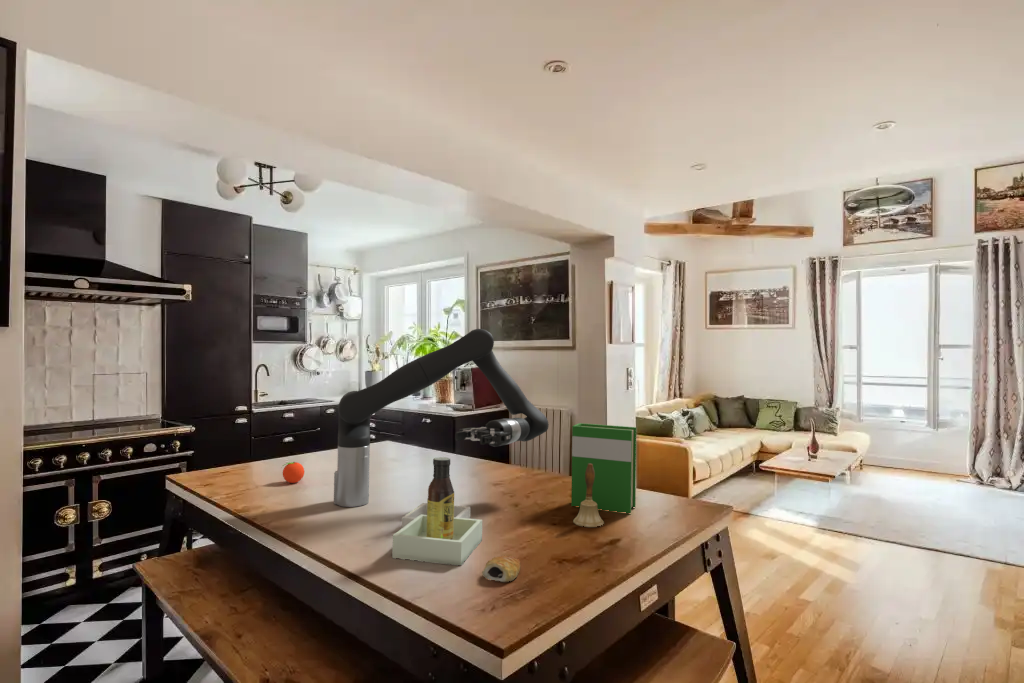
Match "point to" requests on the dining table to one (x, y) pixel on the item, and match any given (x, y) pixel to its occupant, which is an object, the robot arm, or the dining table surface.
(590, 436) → the hardback book
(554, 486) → the dining table surface
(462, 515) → the off-white frame
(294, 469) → the clementine
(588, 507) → the hand bell
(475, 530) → the sage bin
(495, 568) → the pastry
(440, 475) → the sauce bottle
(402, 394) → the robot arm
